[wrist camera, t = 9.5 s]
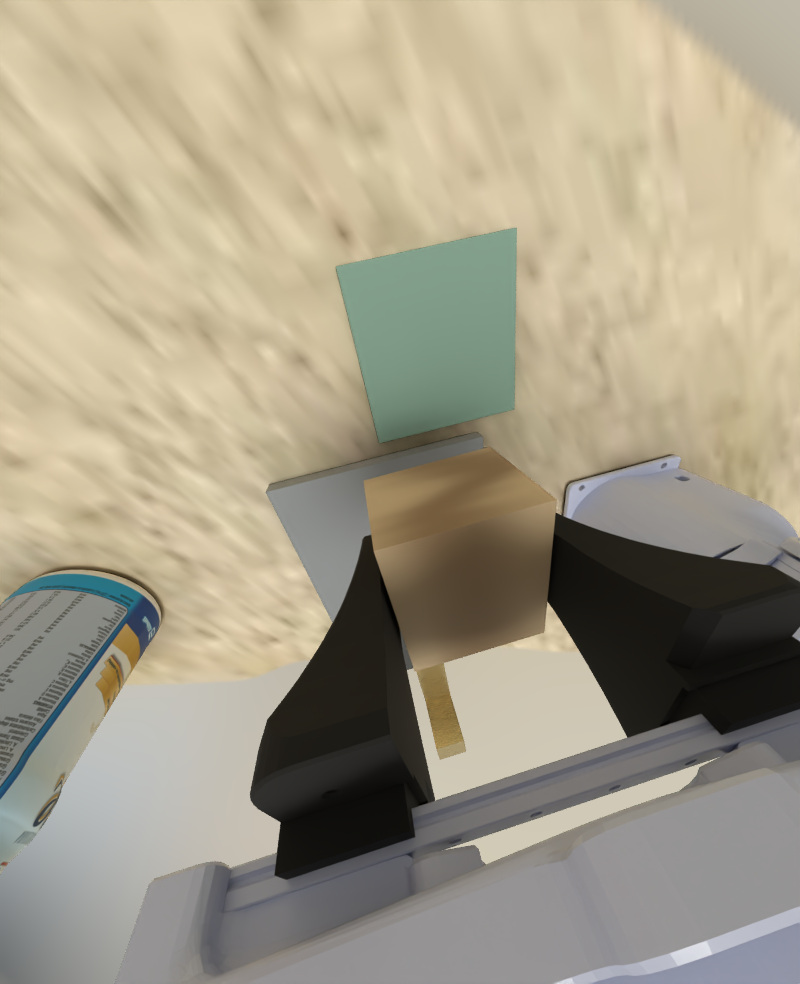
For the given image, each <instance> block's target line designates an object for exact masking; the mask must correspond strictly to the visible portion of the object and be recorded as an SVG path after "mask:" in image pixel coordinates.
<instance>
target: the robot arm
mask: <svg viewBox="0 0 800 984" xmlns="http://www.w3.org/2000/svg"><path fill="white" fill-rule="evenodd" d="M680 461H681V458H680V457H678V456H676V455H672V456H668V457H665V458H661V459H657V460H654V461H650V462H646V463H642V464H639V465H635V466H631V467H628V468H624V469H620V470H616V471H613V472H609V473H605V474H602V475H598V476H594V477H590V478H587V479H583V480H579V481H576V482H572V483H570V484H569V485H568V487H567V491H566V499H565V507H564V515H563V516H562V515H560V514H557V513H555V524H554V534H553V545H552V556H551V566H550V577H549V587H548V598H547V601H548V603H549V604H550V605H551V607H552V608H553V610H554V611H555V613H556V614H557V616H558V617H559V619H560V620H561V622H562V624H563V625H564V627H565V628H566V630H567V631H568V633H569V634H570V636H571V638H572V639H573V641H574V643H575V644H576V646H577V648H578V649H579V651H580V653H581V654H582V656H583V658H584V659H585V661H586V663H587V664H588V666H589V668H590V670H591V671H592V673H593V675H594V677H595V678H596V680H597V682H598V684H599V685H600V687H601V689H602V691H603V692H604V694H605V696H606V698H607V700H608V702H609V703H610V705H611V707H612V709H613V711H614V713H615V715H616V716H617V718H618V720H619V722H620V724H621V726H622V728H623V730H624V732H625V733H626V735H627V737H628V738H625V739H622V740H619V741H617V742H613V743H610V744H607V745H604V746H601V747H598V748H595V749H592V750H589V751H586V752H583V753H580V754H577V755H574V756H571V757H567V758H564V759H561V760H558V761H555V762H552V763H549V764H546V765H543V766H540V767H537V768H534V769H531V770H528V771H525V772H522V773H519V774H516V775H513V776H510V777H506V778H504V779H501V780H497V781H495V782H491V783H488V784H485V785H482V786H479V787H476V788H473V789H470V790H467V791H464V792H461V793H458V794H455V795H451V796H448V797H446V798H442V799H439V800H436V801H435V797H434V793H433V789H432V784H431V780H430V775H429V771H428V766H427V762H426V758H425V753H424V749H423V744H422V740H421V735H420V730H419V726H418V721H417V717H416V712H415V707H414V703H413V698H412V693H411V689H410V684H409V679H408V674H407V670H406V665H405V660H404V655H403V648H402V641H401V633H400V627H399V624H398V621H397V618H396V615H395V612H394V609H393V606H392V603H391V600H390V598H389V595H388V592H387V589H386V586H385V583H384V580H383V577H382V574H381V571H380V568H379V565H378V562H377V559H376V556H375V554H374V550H373V543H372V536H371V535H368V536H364V538H363V539H362V545H361V549H360V554H359V557H358V561H357V564H356V568H355V571H354V574H353V577H352V580H351V582H350V585H349V588H348V590H347V593H346V595H345V598H344V600H343V602H342V605H341V607H340V609H339V611H338V613H337V615H336V617H335V619H334V621H333V623H332V625H331V627H330V629H329V631H328V632H327V634H326V636H325V638H324V640H323V641H322V643H321V645H320V646H319V648H318V650H317V651H316V653H315V654H314V656H313V657H312V659H311V660H310V662H309V664H308V665H307V667H306V668H305V670H304V671H303V673H302V674H301V676H300V677H299V679H298V680H297V681H296V683H295V684H294V686H293V687H292V688H291V690H290V691H289V692H288V694H287V695H286V696H285V698H284V699H283V700H282V701H281V703H280V704H279V705H278V707H277V708H276V709H275V711H274V712H273V713H272V715H271V716H270V717H269V718H268V720H267V723H266V726H265V730H264V733H263V736H262V740H261V743H260V747H259V751H258V755H257V761H256V766H255V771H254V776H253V781H252V786H251V791H250V798H251V801H252V803H253V804H254V805H255V806H256V807H257V808H258V809H259V810H261V811H262V812H264V813H266V814H268V815H269V816H271V817H273V818H274V819H276V820H278V821H280V822H281V825H280V833H279V841H278V849H277V853H275V854H272V855H269V856H265V857H262V858H259V859H256V860H253V861H250V862H247V863H244V864H241V865H238V866H235V867H232V868H229V866H228V865H226V864H224V863H222V862H206V863H202V864H198V865H195V866H192V867H189V868H186V869H183V870H179V871H176V872H173V873H170V874H168V875H164V876H161V877H158V878H155V879H154V880H153V881H152V882H151V883H150V884H149V886H148V889H147V892H146V894H145V897H144V901H143V903H142V906H141V909H140V912H139V915H138V918H137V921H136V924H135V926H134V929H133V932H132V935H131V938H130V941H129V944H128V947H127V950H126V952H125V955H124V958H123V961H122V964H121V967H120V970H119V973H118V975H117V979H116V981H115V984H800V538H798V535H797V533H796V531H795V530H794V528H793V527H792V525H791V524H790V523H789V522H788V521H787V520H786V519H785V518H784V517H783V516H782V515H781V514H780V513H778V512H777V511H776V510H774V509H773V508H771V507H770V506H768V505H766V504H764V503H762V502H760V501H758V500H755V499H753V498H751V497H748V496H746V495H743V494H741V493H739V492H736V491H734V490H731V489H729V488H726V487H724V486H722V485H719V484H717V483H714V482H712V481H709V480H707V479H705V478H702V477H700V476H697V475H695V474H692V473H690V472H688V471H685V470H683V469H680V468H678V467H679V464H680ZM718 757H719V758H718ZM715 758H717V759H716V760H713V761H711V762H709V763H707V764H705V765H703V766H701V767H700V768H699V770H698V773H697V776H696V777H695V778H694V779H693V780H692V781H691V782H690V783H689V784H688V785H686V786H685V787H684V788H683V789H681V790H680V791H678V792H675V793H672V794H669V795H665V796H662V797H659V798H656V799H653V800H650V801H647V802H644V803H641V804H638V805H635V806H632V807H630V808H627V809H624V810H621V811H618V812H616V813H613V814H610V815H608V816H605V817H602V818H600V819H597V820H594V821H591V822H589V823H586V824H584V825H581V826H579V827H576V828H574V829H571V830H569V831H566V832H564V833H561V834H559V835H556V836H554V837H552V838H549V839H547V840H544V841H542V842H539V843H537V844H535V845H532V846H530V847H528V848H525V849H523V850H520V851H518V852H515V853H513V854H510V855H508V856H506V857H503V858H501V859H498V860H496V861H494V862H491V863H489V864H487V865H486V864H485V863H484V862H483V861H482V860H481V856H480V852H479V849H478V848H477V847H476V846H475V845H471V846H465V847H460V848H454V849H448V850H445V849H447V848H450V847H453V846H456V845H460V844H463V843H465V842H468V841H471V840H474V839H477V838H480V837H483V836H486V835H489V834H492V833H495V832H498V831H501V830H504V829H507V828H510V827H513V826H516V825H519V824H522V823H525V822H528V821H531V820H534V819H537V818H540V817H543V816H546V815H548V814H551V813H555V812H557V811H561V810H563V809H566V808H569V807H572V806H575V805H578V804H581V803H584V802H587V801H590V800H593V799H596V798H599V797H602V796H605V795H608V794H611V793H614V792H617V791H620V790H623V789H626V788H629V787H632V786H635V785H638V784H641V783H644V782H647V781H650V780H653V779H655V778H658V777H661V776H664V775H667V774H670V773H673V772H676V771H679V770H682V769H685V768H688V767H691V766H694V765H697V764H700V763H703V762H706V761H709V760H712V759H715ZM442 850H443V851H442Z"/></svg>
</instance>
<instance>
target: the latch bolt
mask: <svg viewBox="0 0 800 984" xmlns="http://www.w3.org/2000/svg"><path fill="white" fill-rule="evenodd" d="M416 672H417V675H418V678H419V681H420V684H421V688H422V691H423V694H424V697H425V701H426V704H427V709H428V714H429V718H430V722H431V727H432V731H433V736H434V740H435V744H436V749H437V752H438V755H439V758H440V759H444V758H447V757H450V756H453V755H456V754H459V753H463V752H465V751H466V749H465V744H464V740H463V736H462V732H461V730H460V726H459V723H458V719H457V716H456V712H455V709H454V706H453V702H452V699H451V696H450V691H449V687H448V682H447V677H446V673H445V668H444V663H442V664H438V665H435V666H432V667H429V668H425V669H422V670H419V671H416Z"/></svg>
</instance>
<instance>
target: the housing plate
mask: <svg viewBox="0 0 800 984" xmlns="http://www.w3.org/2000/svg"><path fill="white" fill-rule="evenodd" d="M479 449H483V436H481V435H480V434H479V433H477V432H474V433H470V434H467V435H463V436H459V437H455V438H451V439H447V440H443V441H439V442H435V443H431V444H427V445H423V446H419V447H415V448H412V449H408V450H404V451H400V452H396V453H392V454H388V455H384V456H380V457H376V458H372V459H368V460H364V461H360V462H357V463H353V464H349V465H345V466H341V467H337V468H333V469H329V470H325V471H321V472H317V473H313V474H309V475H305V476H301V477H298V478H294V479H290V480H286V481H282V482H278V483H274V484H270V485H269V486H268V489H267V491H266V494H267V496H268V497H269V499H270V501H271V503H272V505H273V507H274V509H275V511H276V513H277V515H278V517H279V519H280V521H281V523H282V525H283V527H284V529H285V531H286V533H287V534H288V536H289V538H290V540H291V542H292V544H293V546H294V548H295V550H296V552H297V554H298V556H299V558H300V560H301V562H302V564H303V566H304V568H305V570H306V571H307V573H308V575H309V577H310V579H311V581H312V583H313V585H314V587H315V589H316V591H317V593H318V595H319V597H320V599H321V601H322V603H323V605H324V607H325V608H326V610H327V612H328V614H329V616H330V618H331V620H332V622H333V621H334V619H335V617H336V615H337V613H338V611H339V609H340V607H341V605H342V602H343V600H344V598H345V595H346V593H347V590H348V588H349V585H350V582H351V580H352V577H353V574H354V571H355V568H356V564H357V561H358V557H359V554H360V549H361V545H362V539H363V538H364V536H368V535H371V529H370V522H369V516H368V509H367V502H366V495H365V488H364V482H363V481H364V480H368V479H372V478H375V477H379V476H383V475H386V474H390V473H394V472H398V471H401V470H405V469H409V468H413V467H416V466H420V465H424V464H427V463H431V462H435V461H439V460H442V459H446V458H450V457H453V456H457V455H461V454H465V453H468V452H472V451H476V450H479ZM400 633H401V630H400ZM401 641H402V648H403V655H404V660H405V665H406V670H409V669H412V668H413V665H412V662H411V659H410V656H409V653H408V650H407V647H406V644H405V641H404V639H403V636H402V633H401Z"/></svg>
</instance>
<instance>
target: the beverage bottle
mask: <svg viewBox="0 0 800 984" xmlns="http://www.w3.org/2000/svg"><path fill="white" fill-rule="evenodd" d="M160 623H161V611H160V608H159V606H158V604H157V602H156V600H155V599H154V598H153V597H152V596H151V595H150V594H149V593H148V592H147V591H146V590H145V589H143V588H142V587H140V586H139V585H137V584H135V583H133V582H131V581H129V580H127V579H125V578H122V577H119V576H116V575H113V574H109V573H105V572H99V571H92V570H64V571H57V572H52V573H48V574H45V575H42V576H39V577H37V578H35V579H33V580H31V581H29V582H27V583H26V584H24V585H23V586H22V587H20V588H19V589H18V590H17V591H15V592H14V593H13V594H12V595H11V596H10V597H8V598H7V599H6V600H5V601H4V602H3V603H2V604H1V605H0V874H1V872H2V871H3V869H4V868H5V867H6V865H7V864H8V863H9V862H10V861H11V860H12V859H13V858H14V857H16V856H17V855H18V854H19V853H20V852H21V851H22V850H23V849H24V847H25V846H26V845H28V844H29V843H30V842H31V841H32V840H33V838H34V837H35V836H36V834H37V833H38V832H39V830H40V829H41V828H42V826H43V825H44V823H45V822H46V820H47V818H48V817H49V815H50V814H51V812H52V810H53V809H54V807H55V805H56V803H57V801H58V799H59V796H60V793H61V788H62V786H63V785H64V783H65V782H66V780H67V778H68V777H69V775H70V773H71V771H72V770H73V768H74V767H75V765H76V763H77V761H78V760H79V758H80V757H81V755H82V753H83V752H84V750H85V748H86V746H87V745H88V743H89V741H90V740H91V738H92V736H93V735H94V733H95V732H96V730H97V728H98V727H99V725H100V723H101V722H102V720H103V718H104V717H105V715H106V713H107V712H108V710H109V708H110V706H111V705H112V703H113V702H114V700H115V698H116V697H117V695H118V693H119V692H120V690H121V688H122V687H123V685H124V683H125V682H126V680H127V678H128V677H129V675H130V673H131V672H132V670H133V669H134V667H135V665H136V664H137V662H138V660H139V659H140V657H141V656H142V654H143V652H144V651H145V649H146V647H147V646H148V645H149V643H150V642H151V640H152V639H153V637H154V636H155V634H156V632H157V631H158V629H159V626H160Z"/></svg>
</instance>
